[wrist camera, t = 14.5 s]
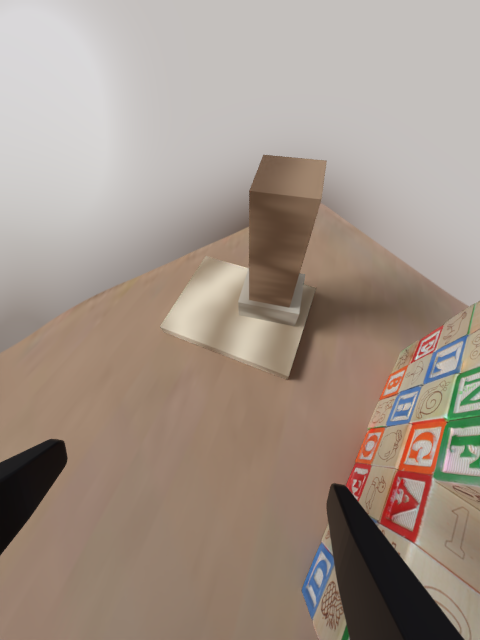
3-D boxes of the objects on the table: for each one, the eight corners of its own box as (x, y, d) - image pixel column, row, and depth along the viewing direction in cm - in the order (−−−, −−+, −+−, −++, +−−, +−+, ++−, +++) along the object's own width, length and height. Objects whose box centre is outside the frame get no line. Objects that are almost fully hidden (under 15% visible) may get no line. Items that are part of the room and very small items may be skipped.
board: (313, 294, 27) (316, 287, 26) (286, 379, 22) (288, 376, 21) (207, 262, 30) (205, 255, 29) (163, 331, 25) (159, 326, 24)
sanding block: (300, 288, 26) (343, 158, 14) (294, 326, 24) (339, 207, 12) (249, 279, 27) (250, 149, 15) (238, 314, 25) (230, 193, 13)
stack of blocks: (391, 680, 14) (940, 1573, 3) (298, 589, 16) (412, 911, 5) (466, 384, 22) (682, 324, 11) (399, 349, 24) (526, 267, 13)
